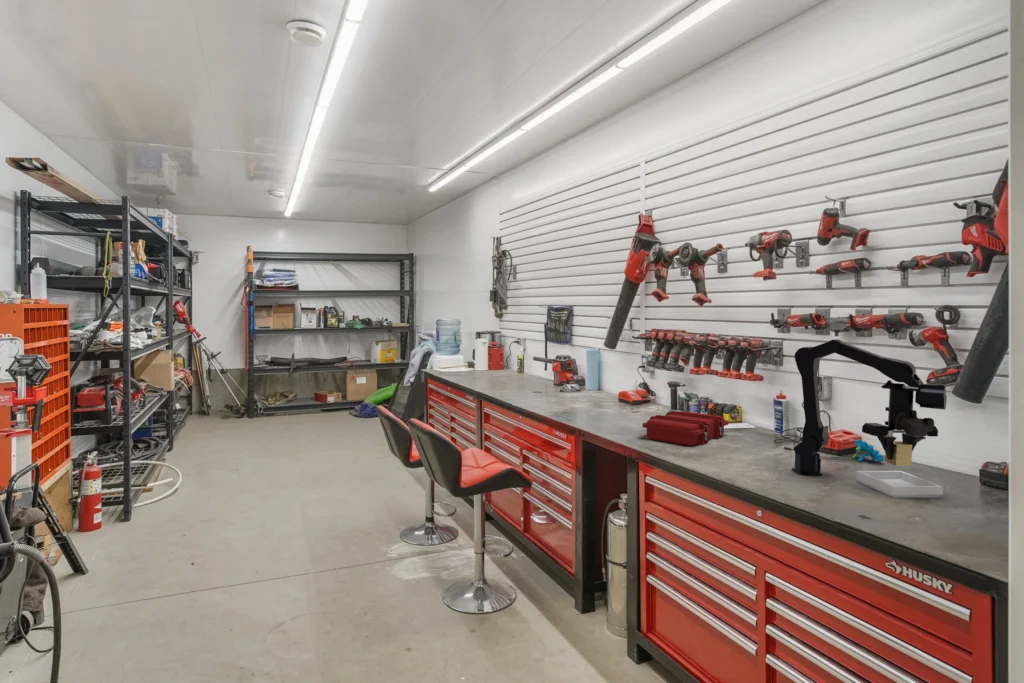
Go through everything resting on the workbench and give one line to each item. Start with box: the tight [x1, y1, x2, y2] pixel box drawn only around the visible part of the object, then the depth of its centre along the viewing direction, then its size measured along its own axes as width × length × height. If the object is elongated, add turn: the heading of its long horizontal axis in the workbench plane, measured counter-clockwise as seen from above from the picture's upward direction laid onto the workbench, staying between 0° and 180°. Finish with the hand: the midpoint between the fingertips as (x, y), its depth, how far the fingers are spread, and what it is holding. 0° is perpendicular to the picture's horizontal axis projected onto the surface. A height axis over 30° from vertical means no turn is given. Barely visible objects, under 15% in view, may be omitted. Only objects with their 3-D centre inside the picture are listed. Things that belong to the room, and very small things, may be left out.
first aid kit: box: [641, 410, 729, 447], centre depth 233 cm, size 32×23×9 cm
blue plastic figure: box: [852, 438, 885, 463], centre depth 198 cm, size 11×6×10 cm
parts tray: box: [855, 470, 944, 499], centre depth 166 cm, size 14×16×3 cm
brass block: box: [884, 440, 913, 467], centre depth 166 cm, size 4×4×6 cm
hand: (898, 459), depth 166 cm, fingers closed on brass block, 4 cm apart
